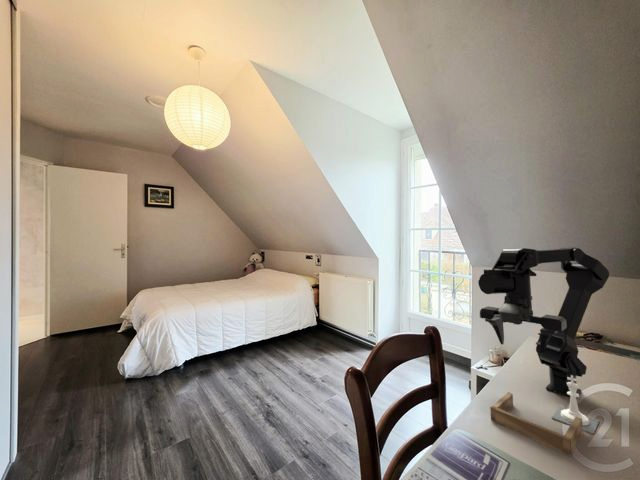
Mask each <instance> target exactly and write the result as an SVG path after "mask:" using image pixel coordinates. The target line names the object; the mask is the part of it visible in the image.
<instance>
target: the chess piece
mask: <svg viewBox="0 0 640 480" xmlns="http://www.w3.org/2000/svg"><path fill="white" fill-rule="evenodd" d="M567 379H568V380H571V382H567V385H568V387H569V390H570V391H568V392H567V394H568V395H570V397H569V398H570V399H569V406H568V407H569V408H564V409H565V410H562V411H561V416H562V417H563V418H564V419H566V420H567V421H570V422H573V420H574V419H575V417H578V418H581V419H582V425H589V419H588V418H587V417H588V416H587V415H584V414H583V413H581V411H580V410H579V406H578V400H577V399H576V397H578V398H580V395H579V394H577V393H576V391H577V389H579V384H578V383H577V384H576V383H574V381H577V382H578V379H577V378H576V379H574V378H573V375H571V378H570V377H567ZM586 416H587V417H586Z"/></svg>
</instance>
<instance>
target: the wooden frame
mask: <svg viewBox="0 0 640 480" xmlns="http://www.w3.org/2000/svg"><path fill="white" fill-rule="evenodd" d="M512 407H514V396H513V393H511V392H507V393H506V394H504V395H503V396H502V397H501V398H499V399H498V400H497V401H496V402H495V403H494V404H492V405H491V406H490V420H491V421H492V422H494V423H496V424H499V425H501V426H504V427H506V428H508V429H509V430H512V431H514V432H516V433H518V434H520V435H523V436H525V437H527V438H529V439H532V440H534V441H537V442H539V443H540V444H543V445H545V446H546V447H550V448H551V449H554V450H555V451H558V452H560V453H563V454H564V455H567V456H570V457H571V456H572V455H573V453H574V450H575V448H576V447H577V445H578V443H579V441H580V440H581V438H582V435H583V433H584V431H583V428H582V419H581V418H578V417H575V419H574V420H573V422H572V423H571V425H569V427H568V428H567V431H566V432H565V433H564V434H562V433H559V432H557V431H554V430H552V429H549V428H547V427H544V426H542V425H540V424H537V423H536V422H533V421H530V420H527V419H526V418H523V417H521V416H518V415H515V414H514V413H511V412H509V410H510V409H512Z"/></svg>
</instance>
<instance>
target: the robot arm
mask: <svg viewBox="0 0 640 480" xmlns="http://www.w3.org/2000/svg"><path fill="white" fill-rule="evenodd" d="M558 262H559V263H560V268H561V270H562V271H563V272H564V273H565V280H566V283H567V286H568V289H567V292H566V294H565V297H564V299H563V302H562V305H561V306H560V307H561V308H560V310H559V312H558V315H551V314H545V315H543V316H536V315H534V311H533V307H532V306H533V304H532V301H533V295H532V287H531V285H532V284H531V277H536V276H538V275H537V273H536V272H534V271H533V270H532V269H533V268H536V267H537V266H539V265H540V264H547V263H550V264H551V263H558ZM572 262H574V263H572ZM531 268H532V269H531ZM609 277H610V271H609V270H608V268H607V267H606V266H605V265H604V264H603V263H602V262H601V261H600V260H598V259H596V258H595V257H593V256H590V255H588V254H586V253H585V252H584V251H583V250H582V249H581V248H578V247H574V246H573V247H560V248H552V249H534V248H528V247H527V248H526V247H524V248H523V247H521V248H520V247H519V248H518V247H516V248H504V249H502V250H501V252H500V254H499V257H498V258H497V260H496V262H495V263H494V265H493V267H492V268H491V269H487V268H485V269H483V274H481V275H480V276H479V280H478V287H479V289H480V291H481V292H482V293H483V294H485V295H497V294H505V296H504V300H503V301H504V302H503V304H501V306H499V307H494V306H485V307H482V308H481V309H480V310H479V318H480V319H484V321H485V322H486V323H489V324H490V325H491V326H492V328H493V330H494V332H495V334H496V337H497V339H498V341H499V344H500V345H501V346H502V345H504V344H505V332H504V323H509V324H513V325H518V326H519V325H522V324H523V322H525V323H531V324H537V325H540V326H541V328H540V329H539V337H538V339H537V341H536V342H535V345H536V346H535V347H536V348H535V352H536V353H537V356H538V359H539V361H540V364H541V365H545V366H548V371H549V383H548V384H547V385H546V386H545V389H546V390H547V391H549V392H552V393H553V392H554V393H556V394H559V395H562V396H566V397H569V398H570V395H568V394H567V392H568V391H570V390H569V387H568V385H567V382H571V380H568V379H567V377H570V378H571V375H573V378H574V379H577V377H583V375H586V372H587V369H588V367H587V365H586V364H585V363H584V362H582V360H581V359H580V358H579V357H578V355H579V349H578V345H577V343H576V341H575V339H576V337H577V334H578V331H579V329H580V327H581V324H582V321H583V318H584V315H585V313H586V310H587V308H588V306H589V302H590V301H591V297H592V295H594V294H595V293H596V292H598V291H600V290H601V289H603V287H604V286H605V284H606V283H607V281H608V279H609ZM577 382H578V380H577V381H574V383H576V384H577V385H578V383H577ZM576 393H577V394H579V396H580V395H581V393H582V389H580V388H577V391H576ZM578 398H579V397H576V400H577V399H578Z"/></svg>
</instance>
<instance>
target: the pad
mask: <svg viewBox="0 0 640 480" xmlns="http://www.w3.org/2000/svg"><path fill="white" fill-rule="evenodd" d="M565 409H566V408H564V407H561V406H559V407H558V408H557V409H556V411H555V412H554V413H553V415H552V416H551V419H553V420H555V421H557V422H560V423H563V424H565V425H567V426H570V425H571V423H572V422H570V421H567V420H566V419H564V418H563V417H562V416H561V411H562V410H565ZM585 416H586V417H587V418H588V419H589V425H582V428H583V432H586V433H589V434H591V435H594V434H595V432H596V430H597V428H598V426H599V423H600V420H599V419H596V418H593V417H589V416H587V415H585Z"/></svg>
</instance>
